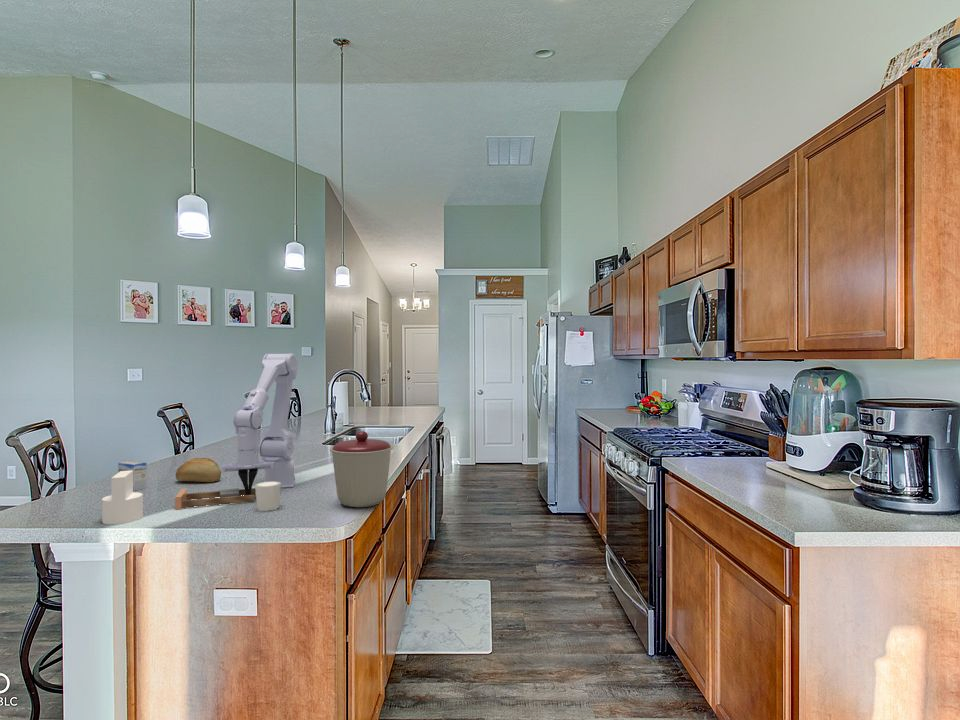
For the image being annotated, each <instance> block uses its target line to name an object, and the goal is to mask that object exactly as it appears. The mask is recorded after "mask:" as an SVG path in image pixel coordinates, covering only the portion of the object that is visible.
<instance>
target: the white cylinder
mask: <svg viewBox="0 0 960 720" xmlns="http://www.w3.org/2000/svg"><path fill="white" fill-rule="evenodd" d="M254 488H255V490H256V495H255V497H256V507H257V510H258V511H259V510H261V511H260V512H269V510H271V511H275V510H278V509H279V507H280V498H281V497H280V496H281V483H280V482H277V481H269V482H265V481H262V482H258V483H255V485H254ZM277 508H278V509H277ZM274 509H275V510H274Z"/></svg>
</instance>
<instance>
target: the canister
mask: <svg viewBox="0 0 960 720" xmlns="http://www.w3.org/2000/svg"><path fill="white" fill-rule="evenodd" d="M393 448H394V445H393V444H391V443H390V442H388V441H386V440H382V439H377V438H376V439H375V438H374V439H373V438H369V434H368V433H367V431H365V430H362V431H361V430H360V431H357V432H356V433H355V439H348V440H347V439H346V440H343V441H340V442H336V443H335V444H333V446H331V447H330V448H329V451H330V452H331V454H332V463H333V473H334V480H335V481H334V482H335V488H336V495H337V499H338V501H339V502H340V504H341V505H343V506H346V507H348V508H349V507H350V508H368V507H373V506H376V505H377V506H378V504H381V503H382V502H383V501H384V499H385V498H386V496H387V495H386V494H387V490H388V489H387V488H388V480H389V474H390V473H389V471H390V462H391V451H392V450H393Z"/></svg>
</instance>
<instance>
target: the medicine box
mask: <svg viewBox="0 0 960 720" xmlns="http://www.w3.org/2000/svg"><path fill="white" fill-rule="evenodd" d="M131 470H133V492H138V491H142V490H145V488H146V489H147V488H148V487H147V482H148V481H147V474H148V473H147V471H148V470H147V462H141V461H133V460H126V461H122V462H118V464H117V473H119V472H120V471H131ZM141 489H142V490H141ZM137 490H138V491H137Z"/></svg>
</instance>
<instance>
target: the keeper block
mask: <svg viewBox="0 0 960 720" xmlns="http://www.w3.org/2000/svg"><path fill="white" fill-rule="evenodd" d="M219 491H220V498H221V497H232V496H239V487H238V488H237V487H236V488H229V489H228V488H227V489H220V490H219Z"/></svg>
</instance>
